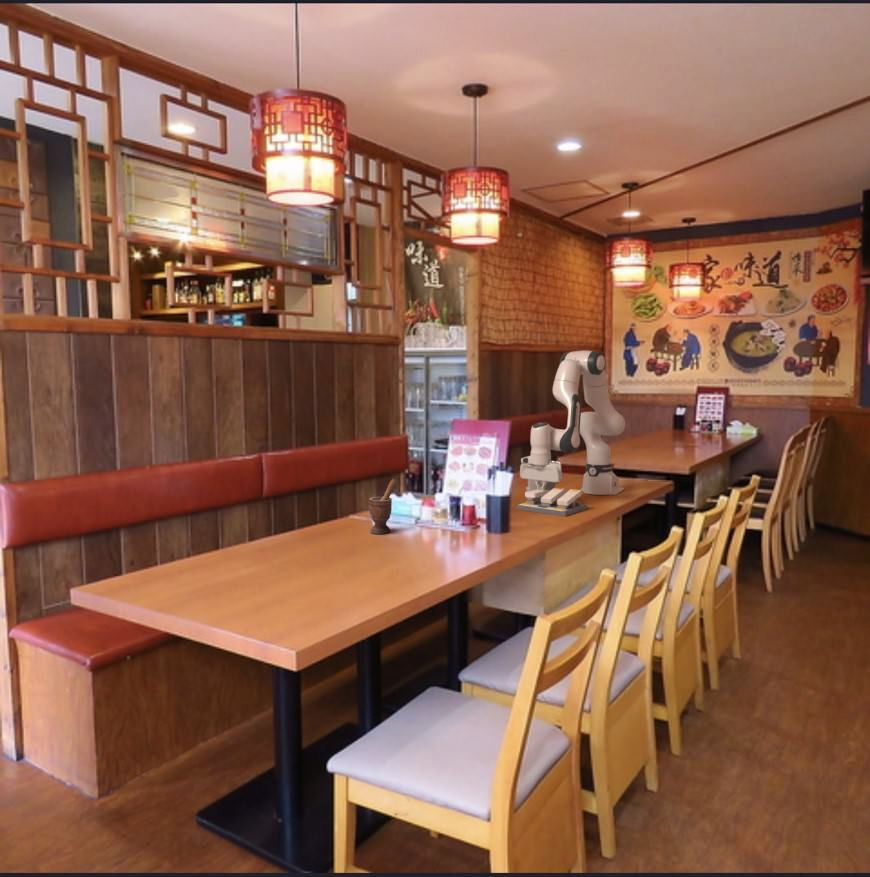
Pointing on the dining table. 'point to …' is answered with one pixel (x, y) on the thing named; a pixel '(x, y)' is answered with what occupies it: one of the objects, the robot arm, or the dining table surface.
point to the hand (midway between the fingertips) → (541, 490)
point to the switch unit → (551, 507)
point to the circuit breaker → (533, 486)
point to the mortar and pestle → (382, 509)
